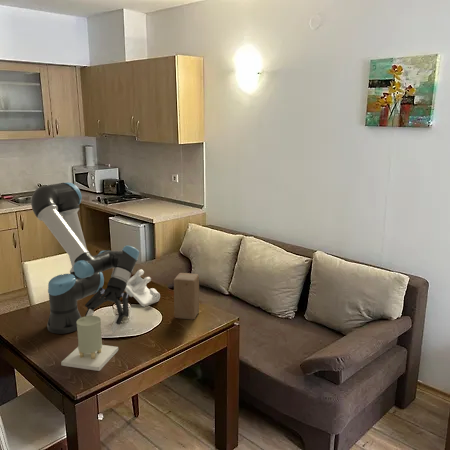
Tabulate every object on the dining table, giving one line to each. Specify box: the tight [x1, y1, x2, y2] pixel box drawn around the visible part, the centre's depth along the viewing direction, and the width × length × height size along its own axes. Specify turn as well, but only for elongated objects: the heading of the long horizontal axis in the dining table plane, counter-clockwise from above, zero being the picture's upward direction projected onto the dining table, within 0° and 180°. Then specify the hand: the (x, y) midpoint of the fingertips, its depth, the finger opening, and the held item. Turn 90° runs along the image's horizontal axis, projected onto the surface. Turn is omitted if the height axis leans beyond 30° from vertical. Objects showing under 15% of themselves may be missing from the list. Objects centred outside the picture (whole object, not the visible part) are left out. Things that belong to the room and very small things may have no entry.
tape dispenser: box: [124, 268, 161, 308], centre depth 239 cm, size 20×11×13 cm, turn 51°
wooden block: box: [173, 272, 200, 320], centre depth 220 cm, size 10×10×20 cm
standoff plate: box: [60, 344, 119, 372], centre depth 183 cm, size 16×16×4 cm
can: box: [76, 315, 103, 353], centre depth 181 cm, size 9×9×12 cm
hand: (98, 328), depth 185 cm, fingers open, 13 cm apart
